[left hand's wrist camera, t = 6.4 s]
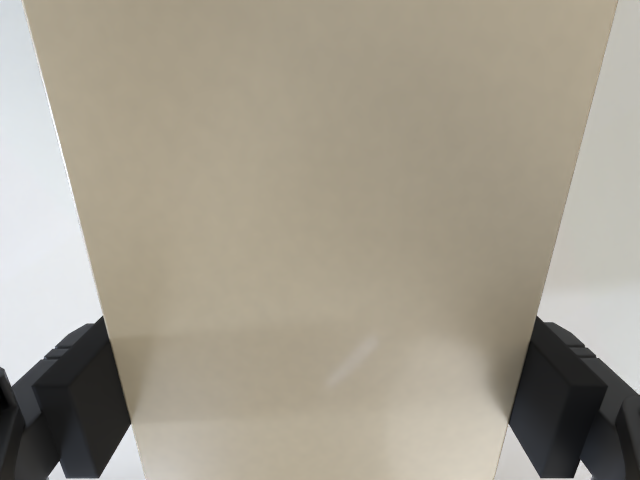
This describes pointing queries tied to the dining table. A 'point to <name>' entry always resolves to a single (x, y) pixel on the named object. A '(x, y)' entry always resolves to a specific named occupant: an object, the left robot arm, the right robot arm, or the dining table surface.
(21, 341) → the dining table surface
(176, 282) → the cabinet
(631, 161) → the dining table surface
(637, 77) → the dining table surface
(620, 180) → the dining table surface
